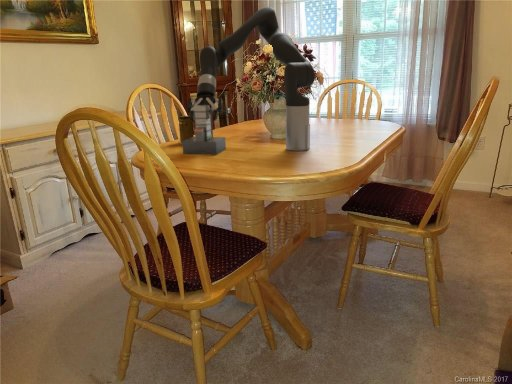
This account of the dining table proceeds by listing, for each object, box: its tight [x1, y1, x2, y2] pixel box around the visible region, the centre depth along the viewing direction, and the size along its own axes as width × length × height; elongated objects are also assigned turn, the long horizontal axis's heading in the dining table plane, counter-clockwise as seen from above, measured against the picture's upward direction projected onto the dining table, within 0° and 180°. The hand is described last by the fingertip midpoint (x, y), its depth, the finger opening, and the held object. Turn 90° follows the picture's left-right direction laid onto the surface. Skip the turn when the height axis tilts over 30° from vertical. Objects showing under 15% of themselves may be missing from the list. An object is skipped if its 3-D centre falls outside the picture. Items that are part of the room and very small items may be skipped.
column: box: [194, 105, 213, 140], centre depth 163 cm, size 5×5×13 cm
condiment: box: [178, 115, 194, 145], centre depth 186 cm, size 7×8×12 cm
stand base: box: [182, 127, 227, 156], centre depth 164 cm, size 14×11×10 cm
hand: (203, 119), depth 163 cm, fingers open, 8 cm apart
